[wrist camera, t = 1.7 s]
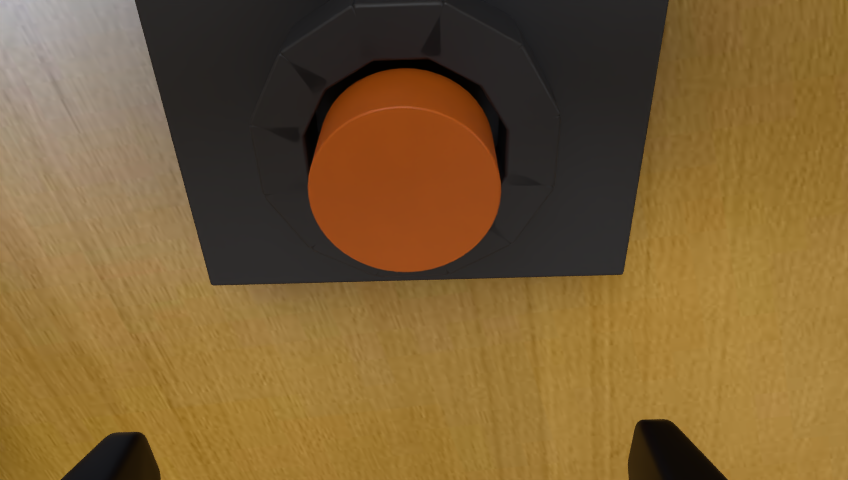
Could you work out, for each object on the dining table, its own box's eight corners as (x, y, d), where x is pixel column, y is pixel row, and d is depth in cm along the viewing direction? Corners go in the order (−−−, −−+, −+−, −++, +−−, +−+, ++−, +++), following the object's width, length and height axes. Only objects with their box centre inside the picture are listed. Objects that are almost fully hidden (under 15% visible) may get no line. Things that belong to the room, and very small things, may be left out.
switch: (495, 64, 15) (504, 103, 13) (491, 220, 17) (498, 270, 15) (309, 70, 15) (294, 109, 13) (330, 224, 17) (319, 275, 15)
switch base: (658, -125, 16) (719, -95, 13) (607, 233, 22) (639, 317, 18) (144, -105, 16) (73, -71, 13) (228, 243, 22) (193, 328, 19)
